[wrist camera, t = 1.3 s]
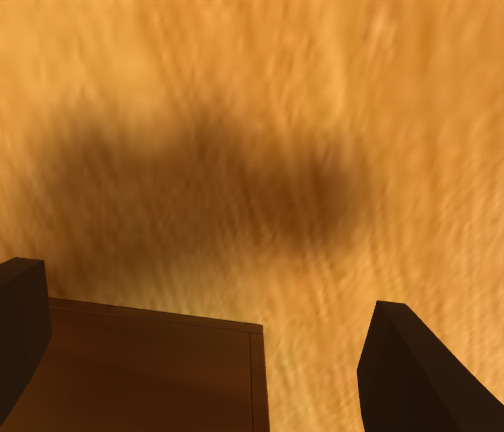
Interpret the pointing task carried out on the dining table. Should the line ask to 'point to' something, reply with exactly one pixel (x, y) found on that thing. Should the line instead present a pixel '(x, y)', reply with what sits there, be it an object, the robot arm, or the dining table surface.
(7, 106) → the dining table surface
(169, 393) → the cabinet
